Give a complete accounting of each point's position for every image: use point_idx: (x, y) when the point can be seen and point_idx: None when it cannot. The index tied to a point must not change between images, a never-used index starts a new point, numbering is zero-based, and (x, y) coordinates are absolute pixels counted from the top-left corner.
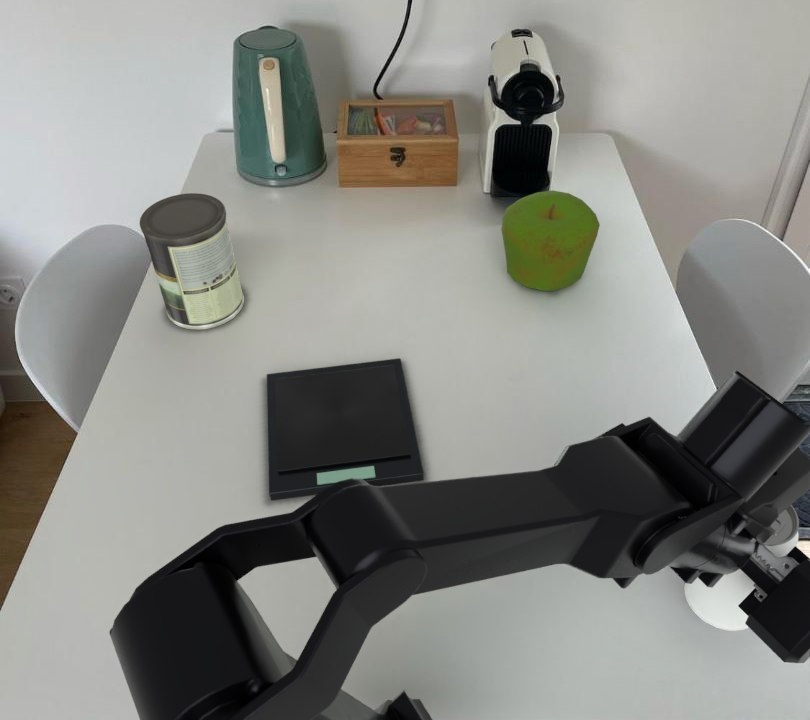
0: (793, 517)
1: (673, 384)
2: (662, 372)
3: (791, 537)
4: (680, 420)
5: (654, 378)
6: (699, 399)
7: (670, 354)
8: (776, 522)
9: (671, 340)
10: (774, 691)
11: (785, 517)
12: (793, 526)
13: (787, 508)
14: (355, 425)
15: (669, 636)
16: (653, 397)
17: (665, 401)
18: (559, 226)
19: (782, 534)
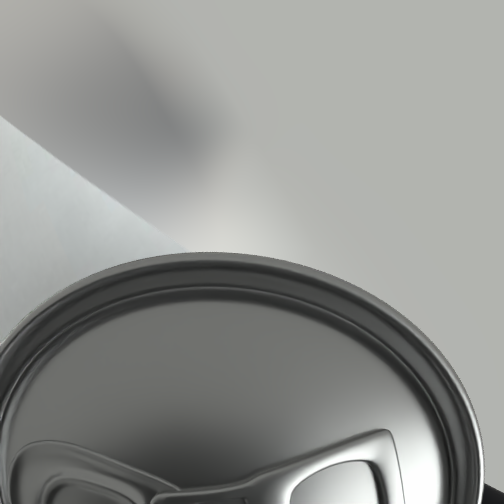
0: (369, 331)
1: (20, 174)
2: (9, 172)
3: (481, 480)
4: (35, 200)
5: (4, 182)
6: (44, 168)
7: (12, 153)
8: (341, 476)
9: (11, 143)
10: None
11: (349, 385)
12: (421, 393)
13: (297, 302)
14: None
15: None
16: (7, 200)
17: (17, 194)
18: None
19: (420, 499)
